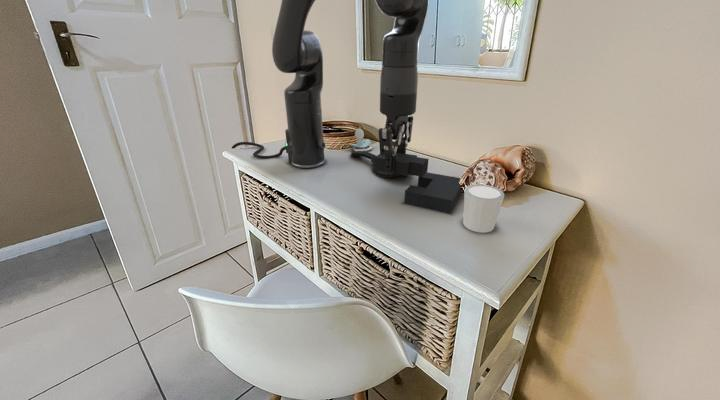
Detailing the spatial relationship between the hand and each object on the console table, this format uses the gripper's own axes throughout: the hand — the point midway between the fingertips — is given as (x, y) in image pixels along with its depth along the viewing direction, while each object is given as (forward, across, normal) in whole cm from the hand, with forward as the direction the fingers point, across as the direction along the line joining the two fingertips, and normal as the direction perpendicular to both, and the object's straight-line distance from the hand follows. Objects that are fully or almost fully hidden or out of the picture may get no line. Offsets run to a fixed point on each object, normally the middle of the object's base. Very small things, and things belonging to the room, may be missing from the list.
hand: (395, 166), depth 75 cm
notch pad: (+5, 0, +10) cm, 11 cm away
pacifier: (+6, -22, -20) cm, 30 cm away
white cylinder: (+6, +8, +20) cm, 23 cm away
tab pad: (+1, 0, +2) cm, 2 cm away
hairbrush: (+6, -11, -9) cm, 15 cm away
